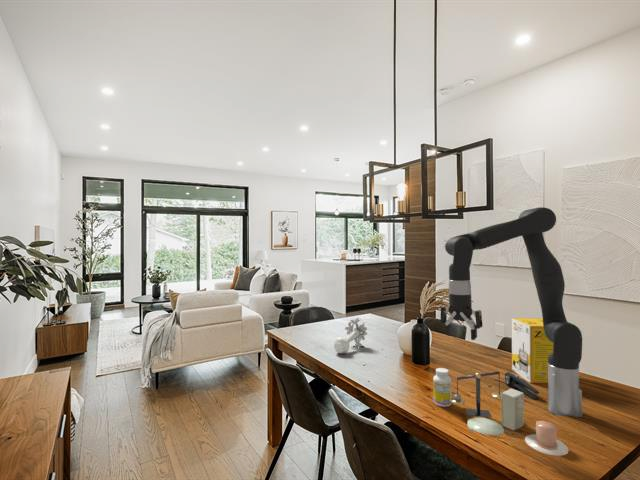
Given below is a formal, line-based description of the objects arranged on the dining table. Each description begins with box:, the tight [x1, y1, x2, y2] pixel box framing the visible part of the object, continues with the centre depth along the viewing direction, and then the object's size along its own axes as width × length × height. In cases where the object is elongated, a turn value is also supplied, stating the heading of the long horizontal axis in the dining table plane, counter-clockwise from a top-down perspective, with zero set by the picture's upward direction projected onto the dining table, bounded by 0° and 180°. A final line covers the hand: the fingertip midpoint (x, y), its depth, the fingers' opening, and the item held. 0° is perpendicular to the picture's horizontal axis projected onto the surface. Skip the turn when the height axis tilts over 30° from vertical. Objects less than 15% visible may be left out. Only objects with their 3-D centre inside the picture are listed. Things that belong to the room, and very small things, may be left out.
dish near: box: [524, 433, 569, 457], centre depth 105 cm, size 11×11×1 cm
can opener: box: [504, 371, 540, 400], centre depth 146 cm, size 18×7×6 cm, turn 7°
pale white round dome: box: [466, 417, 505, 436], centre depth 116 cm, size 11×11×1 cm
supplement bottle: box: [432, 367, 453, 408], centre depth 135 cm, size 7×7×13 cm
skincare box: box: [500, 387, 525, 431], centre depth 116 cm, size 6×4×12 cm
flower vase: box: [333, 317, 368, 354], centre depth 202 cm, size 13×18×25 cm
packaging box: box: [511, 317, 553, 384], centre depth 161 cm, size 16×16×25 cm
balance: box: [450, 371, 502, 418], centre depth 125 cm, size 19×5×16 cm, turn 80°
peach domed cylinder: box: [535, 420, 558, 450], centre depth 105 cm, size 6×6×6 cm
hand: (461, 337), depth 126 cm, fingers open, 8 cm apart
